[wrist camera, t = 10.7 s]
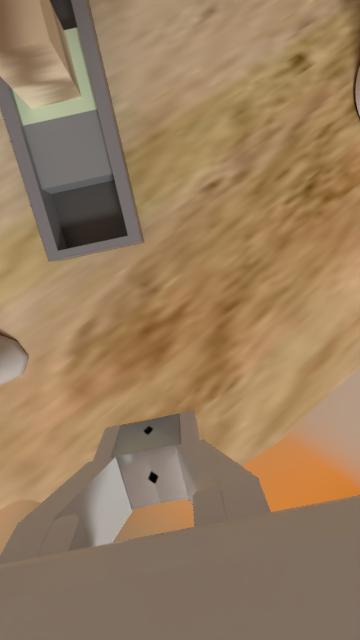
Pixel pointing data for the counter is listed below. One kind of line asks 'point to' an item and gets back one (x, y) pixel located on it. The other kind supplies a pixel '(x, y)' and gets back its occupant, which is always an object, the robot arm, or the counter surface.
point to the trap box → (75, 154)
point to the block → (36, 53)
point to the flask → (11, 359)
